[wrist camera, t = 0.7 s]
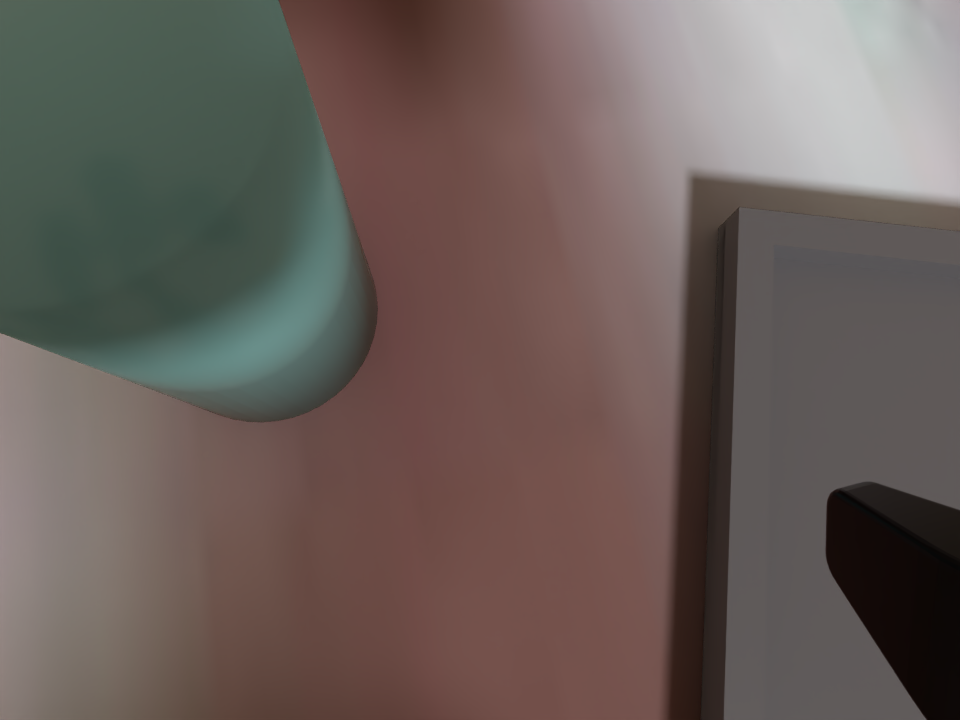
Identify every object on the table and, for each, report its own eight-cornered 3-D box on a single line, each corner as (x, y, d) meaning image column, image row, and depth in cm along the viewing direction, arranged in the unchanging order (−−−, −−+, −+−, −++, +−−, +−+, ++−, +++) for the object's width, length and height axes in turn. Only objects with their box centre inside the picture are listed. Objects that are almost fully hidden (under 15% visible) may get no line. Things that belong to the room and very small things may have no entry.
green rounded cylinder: (362, 433, 20) (242, 339, 8) (131, 409, 20) (-318, 279, 8) (390, 218, 21) (319, -126, 10) (173, 194, 21) (-166, -184, 10)
